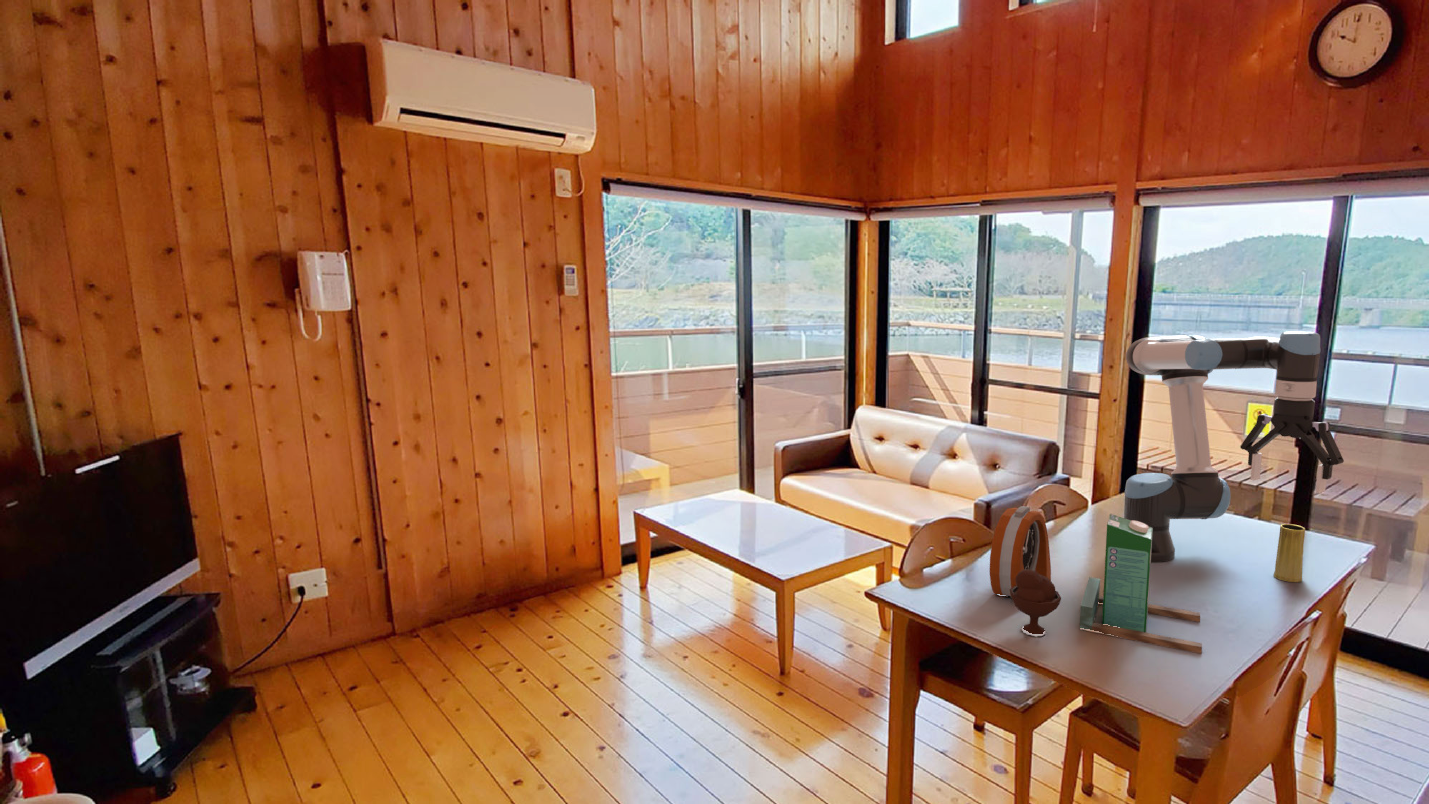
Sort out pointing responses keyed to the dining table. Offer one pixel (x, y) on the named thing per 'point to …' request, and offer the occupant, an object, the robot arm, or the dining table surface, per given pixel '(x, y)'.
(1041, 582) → the ice cream bowl
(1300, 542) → the vase
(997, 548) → the alarm clock
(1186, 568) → the dining table surface
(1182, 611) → the track
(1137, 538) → the milk carton
